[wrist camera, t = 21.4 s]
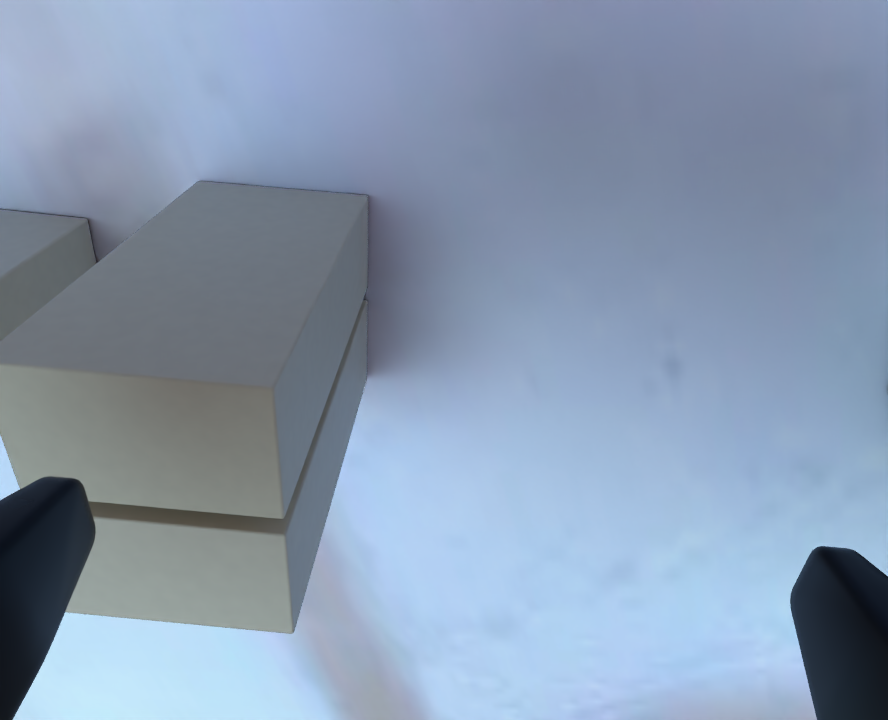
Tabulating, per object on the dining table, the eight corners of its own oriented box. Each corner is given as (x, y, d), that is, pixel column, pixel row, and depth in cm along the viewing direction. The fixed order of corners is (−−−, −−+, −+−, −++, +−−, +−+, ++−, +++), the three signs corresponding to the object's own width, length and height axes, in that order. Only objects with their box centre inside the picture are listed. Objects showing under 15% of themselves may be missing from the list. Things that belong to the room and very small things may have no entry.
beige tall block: (197, 180, 20) (-28, 361, 11) (368, 194, 19) (273, 388, 11) (221, 365, 23) (63, 613, 14) (367, 378, 23) (293, 635, 14)
